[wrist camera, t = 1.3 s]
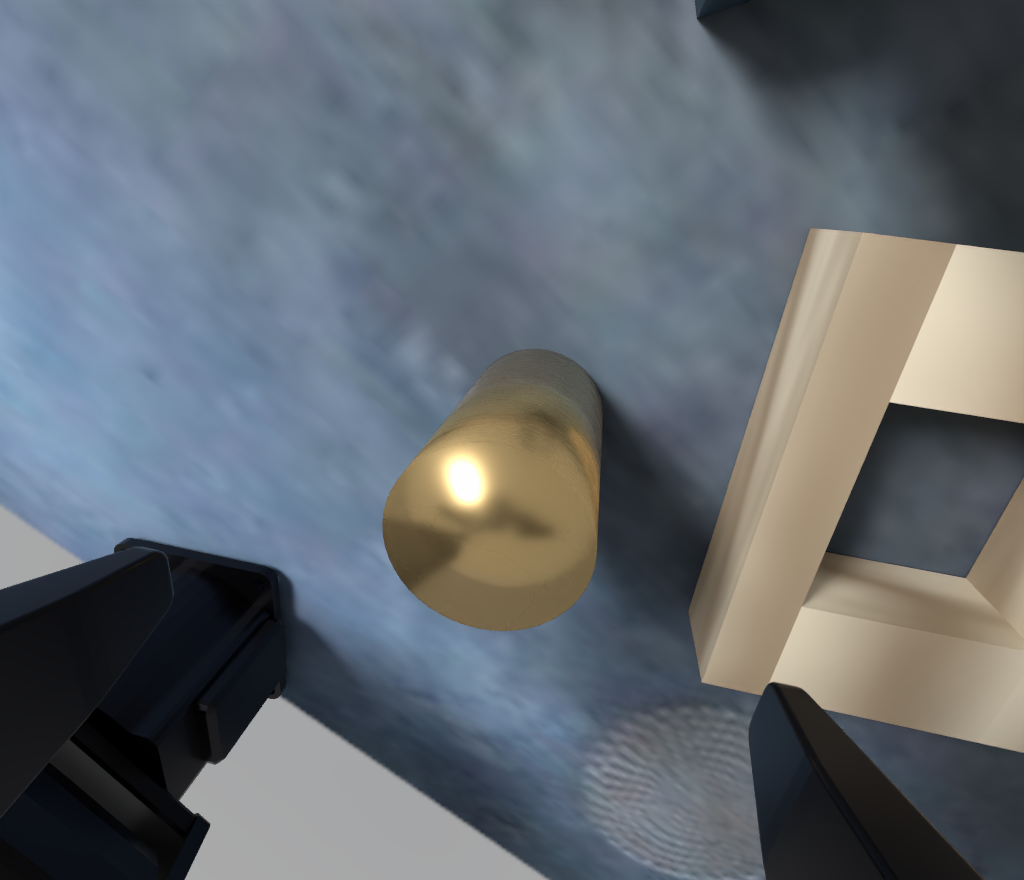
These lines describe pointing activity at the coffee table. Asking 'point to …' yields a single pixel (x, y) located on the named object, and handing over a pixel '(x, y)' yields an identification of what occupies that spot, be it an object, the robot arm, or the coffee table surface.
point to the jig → (831, 476)
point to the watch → (714, 6)
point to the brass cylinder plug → (504, 497)
